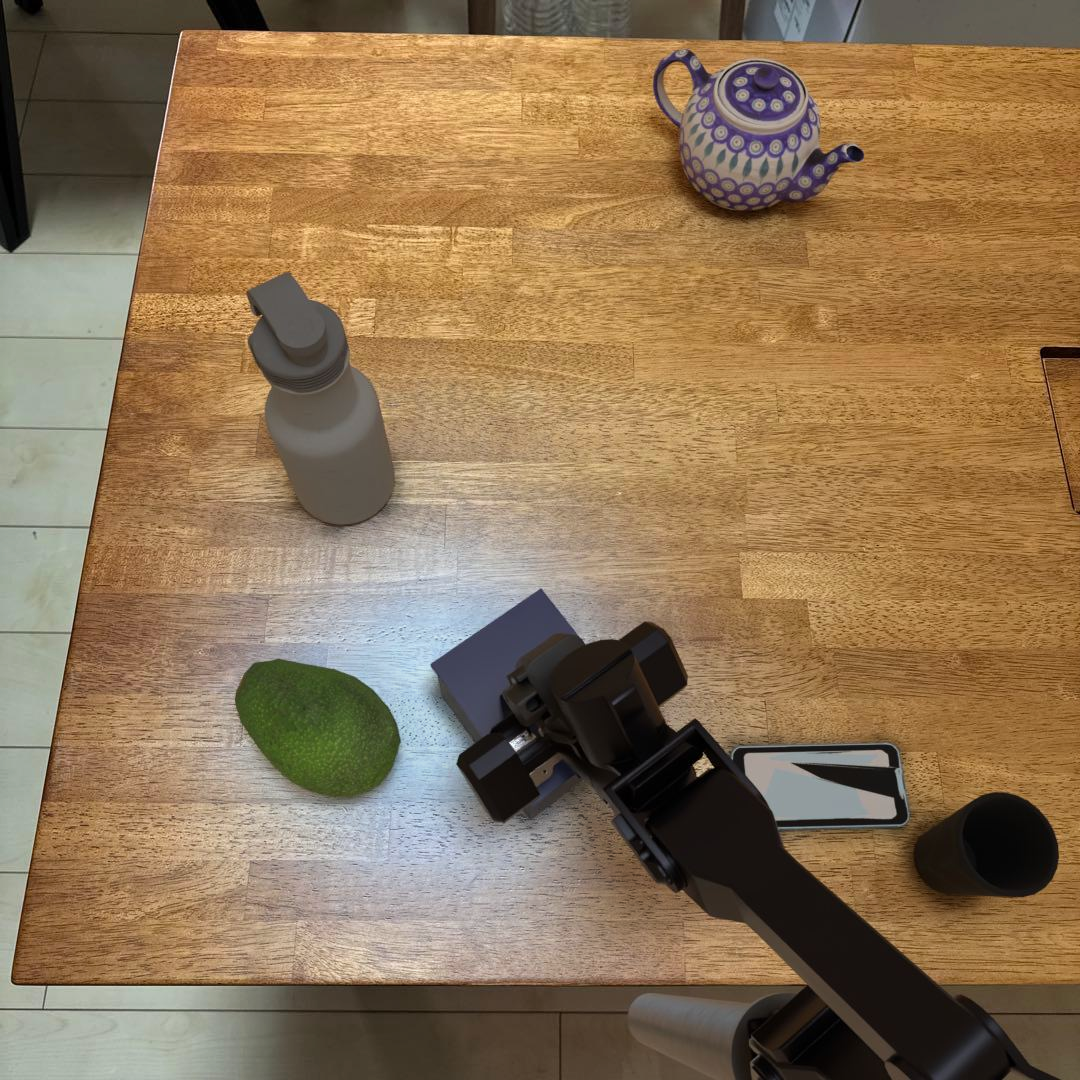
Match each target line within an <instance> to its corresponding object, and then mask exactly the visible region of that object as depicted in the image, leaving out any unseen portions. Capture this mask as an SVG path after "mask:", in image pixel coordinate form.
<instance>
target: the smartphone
mask: <svg viewBox="0 0 1080 1080" xmlns="http://www.w3.org/2000/svg"><path fill="white" fill-rule="evenodd" d="M729 757H730V758H731V759H732V760H733V761H734V762H735V763H736V765H737V766H738V767H739V768H740V769H741V770H742V771H743V773H744V774H745V775H746V776H747V777H748V778H749V780H750V781H751V782H752V783H753V784H754V785H755V786H756V788H757V789H758V790H759V791H760V793H761V794H762V795H763V797H764V798H765V800H766V801H767V803H768V805H769V807H770V809H771V810H772V812H773V815H774V818H775V821H776V824H777V827H778V830H779V831H816V830H818V831H819V830H865V829H898V828H902V827H904V826H906V825H907V824H908V823H909V821H910V820H911V819H910V818H911V813H910V807H909V800H908V794H907V789H906V783H905V776H904V771H903V770H904V769H903V764H902V758H901V753H900V750H899V748H898V747H897V746H896V745H895V744H894V743H891V742H886V741H885V742H883V741H882V742H843V743H842V742H841V743H838V742H837V743H799V744H798V743H796V744H795V743H793V744H752V745H748V744H747V745H738V746H735V747H734V748H733V749H732V750H731V752H730V754H729Z"/></svg>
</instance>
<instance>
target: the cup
mask: <svg viewBox="0 0 1080 1080" xmlns="http://www.w3.org/2000/svg"><path fill="white" fill-rule="evenodd" d="M912 854H913V865H914V868H915V870H916V872H917V875H918V876H919V878H920V879H921V881H923V883H924V884H925V885H926V886H928V888H930V889H931V890H933V891H935V892H936V893H939V894H943V895H948V896H951V895H952V896H973V897H995V898H998V897H999V898H1026V897H1030V896H1034V895H1036V894H1038V893H1039V892H1041V891H1042V890H1044V889H1046V888H1047V886H1048V885H1049V884H1050V883H1051V882H1052V881H1053V880H1054V876H1055V874H1056V873H1057V870H1058V868H1059V867H1058V866H1059V860H1060V850H1059V842H1058V838H1057V836H1056V832H1055V830H1054V828H1053V826H1052V825H1051V823H1050V821H1049V819H1048V818H1047V817H1046V816H1045V815H1044V813H1043V812H1042V811H1041V810H1040V809H1039V808H1038V807H1037V806H1035V805H1034V804H1033V803H1032V802H1031V801H1029V800H1027V799H1025V798H1023V797H1022V796H1019V795H1017V794H1014V793H1011V792H1010V793H1009V792H1005V791H1003V792H1001V791H993V792H989V793H984V794H980V795H979V796H977V797H976V798H974V799H973V800H971V801H970V802H968V803H966V804H965V805H964V806H962V807H960V808H959V809H958V810H956V811H955V812H953V813H951V814H950V815H949V816H947V817H946V818H944V819H942V820H941V821H939V822H937V824H935V825H933V826H932V827H930V828H929V829H927V830H926V831H924V832H923V833H922V834H921V835H920V836H919V837H918V838H917V841H916V842H915V844H914V848H913V853H912Z"/></svg>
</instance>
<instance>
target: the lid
mask: <svg viewBox="0 0 1080 1080" xmlns="http://www.w3.org/2000/svg"><path fill="white" fill-rule="evenodd" d="M556 633H565V634H572V635H577V636H579V634H578V633H577V632H576V631H575V630H574V628H573V627H572V625H571V624H570V623H569V621H568V620H567V619H566V617H564V615H563V614H562V613H561V612H560V610H559V609H558V608H557V607H556V605H555V604H554V603H553V601H552V600H551V598H549V596H548V595H547V593H546V592H545V591H544V590H543V588H539V589H538V590H536V591H535V592H533V593H532V594H530V595H529V596H527V597H525V599H523V600H521V601H520V602H518V603H517V604H515V605H514V606H513V607H511V608H510V609H508V610H507V611H506V612H504V613H503V614H501V615H500V616H498V617H497V618H495V619H494V620H492V621H491V622H489V623H488V624H487V625H485V626H483V627H482V628H481V629H479V630H478V631H476V632H475V633H474V634H472V635H470V636H468V638H466V639H464V640H463V641H461V642H460V643H459V644H457V645H456V646H454V647H453V648H451V649H450V650H449V651H447V652H445V653H444V654H443V655H441V656H439V657H438V658H436V659H435V660H434V661H433V662H431V663H430V664H429V665H430V668H431V669H432V670H433V672H434V674H435V675H436V677H437V676H438V677H437V679H438V678H439V679H440V680H441V682H442V683H443V684H444V686H445V687H446V689H447V690H448V691H449V693H450V694H451V696H452V697H453V698H454V700H455V701H456V703H457V704H458V705H459V707H460V708H461V710H462V711H463V712H464V714H465V715H466V716H467V718H468V719H469V721H470V722H471V723H472V725H473V726H474V728H475V729H476V730H477V732H478V733H479V735H480V736H481V737H482V738H483V737H484V736H486V735H487V734H490V730H491V728H492V727H493V726H495V725H496V724H497V723H499V722H500V721H502V720H503V711H502V706H501V702H500V697H499V696H500V695H501V694H502V691H504V690H505V689H506V688H508V687H509V685H510V683H509V681H508V679H507V677H506V676H507V675H508V674H510V673H511V672H513V671H514V670H515V667H516V663H517V661H518V660H519V658H521V657H522V656H523V655H525V654H526V653H528V652H530V651H531V650H533V649H534V648H536V647H537V646H538V645H540V644H541V643H543V642H544V641H546V640H547V639H548V638H549V637H550V636H552V635H553V634H556ZM529 728H530V730H531V732H532V733H533V734H534V735H535V736H536V737H537V738H538V737H540V736H541V735H540V734H539V732H538V730H537V729H538V726H537V724H536V723H535V722H534V723H533V724H531V725H530V726H529ZM574 776H576V775H575V774H574V773H573V772H572V770H571V768H570V766H569V765H568V764H567V763H566V762H565V761H563V760H560V761H559V762H558V763H556V764H555V765H554V766H553V772H552V775H551V776H550V777H549V778H548V779H547V780H545V781H544V782H543V783H541V784H540V785H539V786H537V789H538V791H539V793H540V797H539V798H538V799H537V800H535V801H534V802H533V803H531V804H530V806H531V807H532V808H533V807H534V806H536V805H537V804H538V803H540V802H541V801H542V800H544V799H545V798H546V797H548V796H549V795H550V794H552V793H553V792H554V791H556V790H557V789H558V788H560V787H561V786H562V785H564V784H565V783H566V782H568V781H569V780H570V779H572V778H573V777H574Z"/></svg>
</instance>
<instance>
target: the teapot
mask: <svg viewBox="0 0 1080 1080" xmlns="http://www.w3.org/2000/svg"><path fill="white" fill-rule="evenodd" d="M673 63H682V64H683V65H684V66H685V67H686V69H687V71H688V72H689V74H690V77H691V85H692V91H691V95H690V96H689V98H688V101H687V102H686V105H685V107H684V109H683V112H681V111H680V110H679V109H678V108H677V107H675V105H674V104H673V102H672V101H671V100H670V98H669V96H668V94H667V91H666V87H665V83H664V80H665V79H664V78H665V72H666V70H668V68H669V66H670V65H672V64H673ZM652 78H653V79H652V92H653V96H654V99H655V101H656V103H657V105H658V107H659V109H660V110H661V111H662V113H663V114H664V115H665V116H666V117H667V119H668V120H670V122H672V123H673V124H674V126H676V127H677V128H678V130H679V132H678V151H679V159H680V163H681V167H682V170H683V172H684V174H685V176H686V178H687V180H688V181H689V182H688V183H690V184H691V186H692V187H693V188H694V189H695V190H696V192H698V193H699V194H701V196H702V197H704V198H705V199H706V200H708V201H710V202H711V203H713V204H714V205H716V206H719V208H724V209H727V210H732V211H755V210H764V209H766V208H770V207H772V206H774V205H776V204H779V203H782V202H787V203H790V204H797V203H804V202H807V201H810V200H813V199H814V198H816V197H817V196H818V195H819V194H820V193H822V191H823V190H824V189H825V188H826V187H827V185H829V183H830V182H831V180H832V178H833V177H834V175H836V173H837V171H838V170H839V169H840V168H841V167H842V166H843V165H845V164H849V163H860V162H862V161H863V160H864V159H865V153H864V150H863V149H862V148H861V147H860V146H859V145H858V144H855V143H853V142H845V143H842V144H839V145H837V146H835V147H834V148H832V149H831V150H830V151H828V152H826V153H825V152H823V151H822V150H821V147H820V134H821V127H822V126H821V119H820V107H819V105H818V104H817V102H816V100H815V99H814V97H813V96H812V94H811V93H810V92H809V90H808V88H807V86H806V83H805V82H804V80H803V79H802V77H801V75H800V74H798V73H797V72H796V71H795V70H793V69H792V68H790V67H789V66H787V65H786V64H784V63H781V62H778V61H776V60H772V59H768V58H763V57H762V58H761V57H751V58H744V59H740V60H738V61H735V62H733V63H731V64H729V65H727V66H726V67H724V68H721V69H719V70H717V71H716V72H713V73H710V72H708V71H707V70H706V68H705V67H704V65H703V63H702V62H701V60H700V59H699V58H698V56H697V55H696V54H695V53H694V52H693V51H692V50H690V49H688V48H681V49H677V50H675V51H673V52H671V53H669V54H667V55H666V56H664V57H663V58H662V59H661V60H659V61H658V64H657V65H656V67H655V69H654V73H653V77H652Z"/></svg>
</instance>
